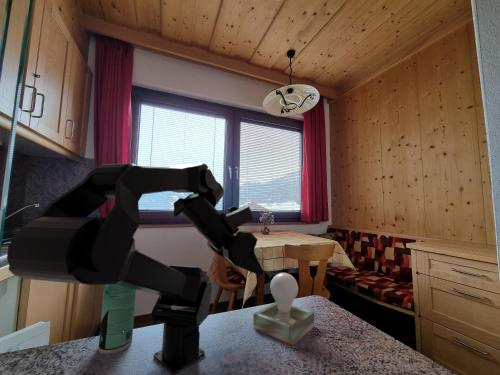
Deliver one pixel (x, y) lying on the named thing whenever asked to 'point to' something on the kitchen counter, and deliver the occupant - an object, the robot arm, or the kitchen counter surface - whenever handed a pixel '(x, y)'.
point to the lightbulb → (284, 294)
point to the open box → (286, 332)
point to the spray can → (116, 318)
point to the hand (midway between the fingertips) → (252, 268)
